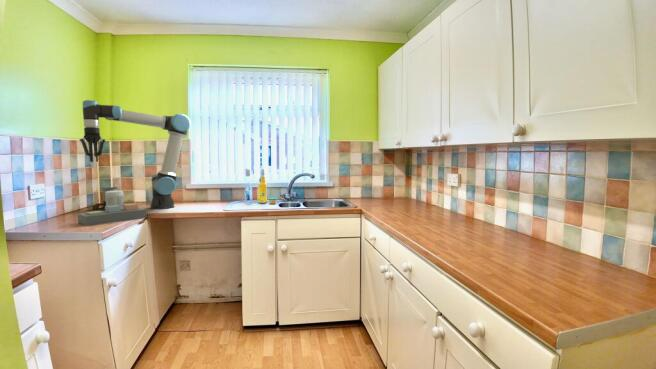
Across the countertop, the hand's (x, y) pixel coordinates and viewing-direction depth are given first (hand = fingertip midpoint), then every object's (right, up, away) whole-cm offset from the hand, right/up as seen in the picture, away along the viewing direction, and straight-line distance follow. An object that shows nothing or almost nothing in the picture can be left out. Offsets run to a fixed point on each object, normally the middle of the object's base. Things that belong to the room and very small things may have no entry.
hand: (94, 167), depth 208 cm
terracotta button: (+24, -26, -5) cm, 35 cm away
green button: (+13, -29, -18) cm, 37 cm away
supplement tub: (+10, -29, +5) cm, 31 cm away
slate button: (+18, -26, -12) cm, 34 cm away
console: (+18, -30, -11) cm, 37 cm away
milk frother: (-11, -27, +28) cm, 40 cm away
